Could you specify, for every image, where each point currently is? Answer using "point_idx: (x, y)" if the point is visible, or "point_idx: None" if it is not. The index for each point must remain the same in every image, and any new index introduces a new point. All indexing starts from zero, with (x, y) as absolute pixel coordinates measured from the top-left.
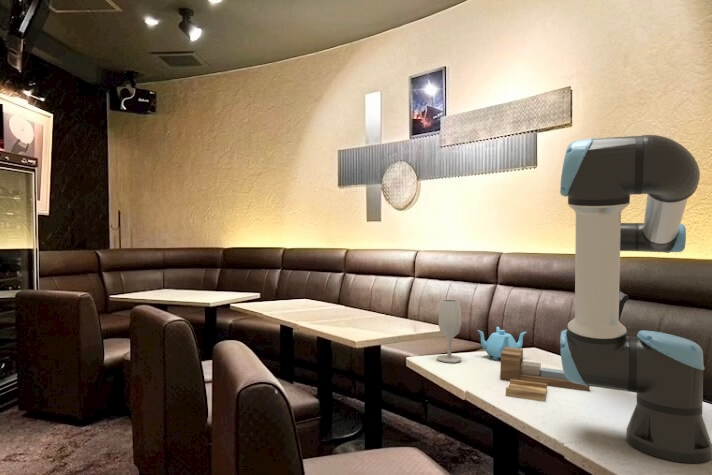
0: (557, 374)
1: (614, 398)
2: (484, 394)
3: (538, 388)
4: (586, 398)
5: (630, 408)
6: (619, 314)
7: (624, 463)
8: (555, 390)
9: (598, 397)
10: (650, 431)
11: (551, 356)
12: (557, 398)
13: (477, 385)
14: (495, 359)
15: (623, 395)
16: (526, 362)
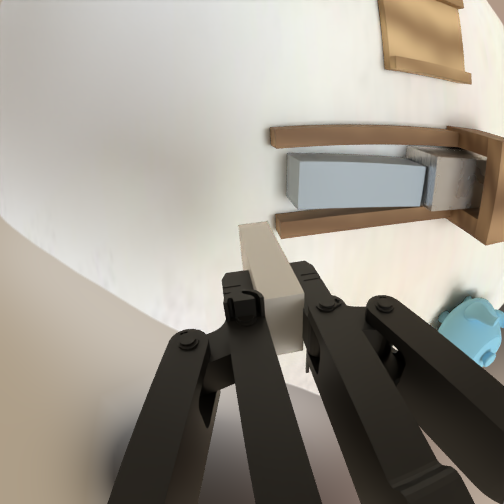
0: (379, 162)
1: (189, 92)
2: (478, 3)
3: (407, 48)
4: (273, 43)
5: (142, 20)
6: (146, 441)
7: None
8: (364, 85)
9: (238, 73)
10: None
11: None
12: (350, 9)
13: (500, 64)
14: (468, 297)
15: (165, 146)
16: (462, 195)
